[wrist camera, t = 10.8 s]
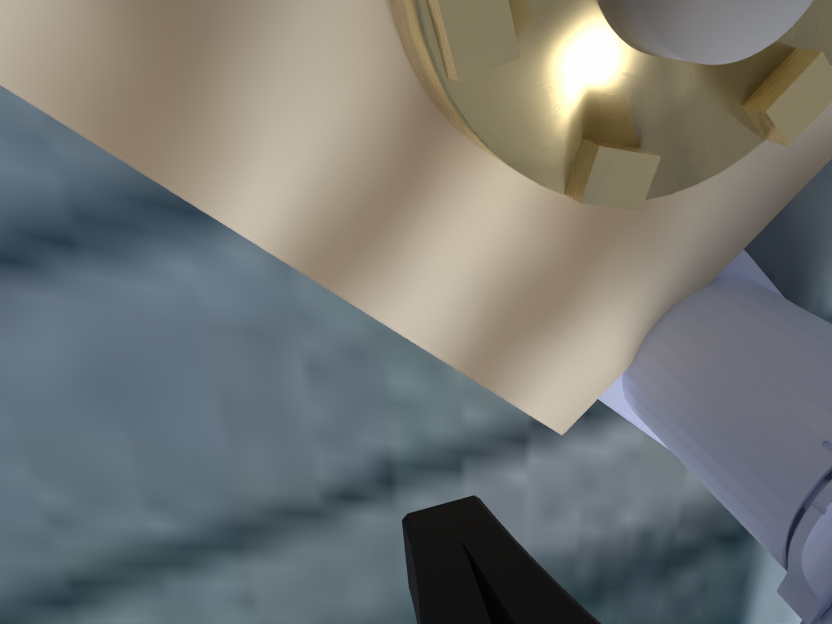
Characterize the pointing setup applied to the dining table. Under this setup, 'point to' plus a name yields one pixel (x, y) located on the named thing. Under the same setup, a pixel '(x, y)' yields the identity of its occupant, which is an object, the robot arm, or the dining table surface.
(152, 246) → the dining table surface
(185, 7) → the base plate
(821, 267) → the dining table surface
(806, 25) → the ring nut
